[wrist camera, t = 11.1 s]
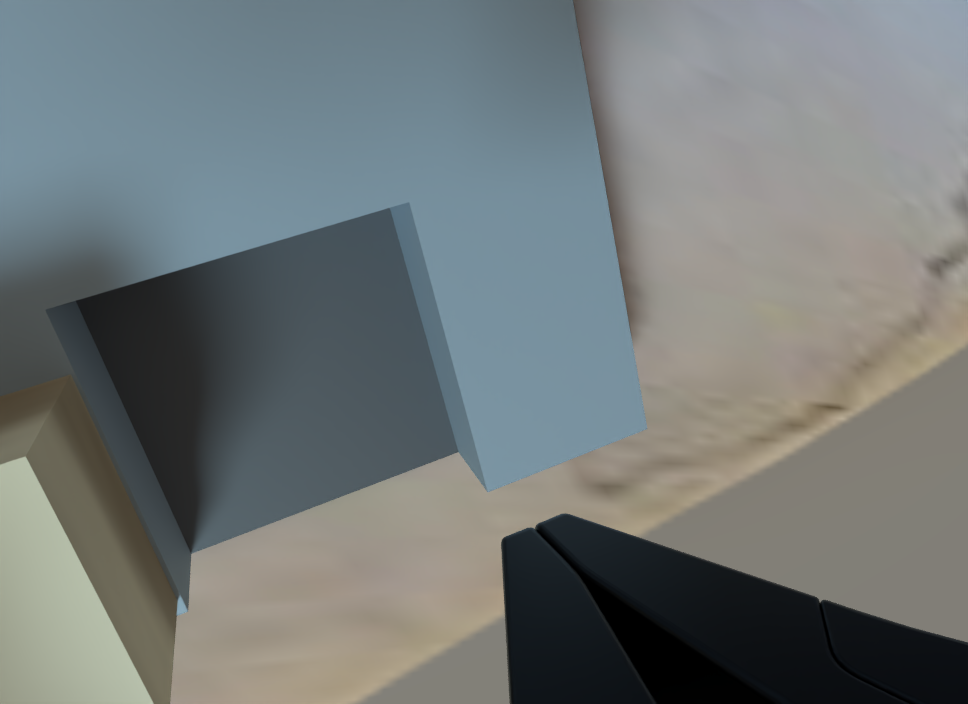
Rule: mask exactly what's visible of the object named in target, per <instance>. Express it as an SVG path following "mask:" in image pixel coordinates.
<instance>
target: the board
mask: <svg viewBox="0 0 968 704" xmlns="http://www.w3.org/2000/svg"><path fill="white" fill-rule="evenodd" d="M67 375H71V376H72V378H73V380H74V382H75V384H76V386H77V388H78V390H79V393H80V395H81V397H82V399H83V401H84V403H85V405H86V407H87V410H88V412H89V414H90V416H91V418H92V420H93V422H94V424H95V427H96V429H97V431H98V433H99V435H100V437H101V439H102V441H103V444H104V446H105V448H106V450H107V452H108V454H109V456H110V458H111V460H112V463H113V465H114V467H115V469H116V471H117V473H118V475H119V477H120V480H121V482H122V484H123V486H124V488H125V490H126V492H127V494H128V497H129V499H130V501H131V503H132V505H133V507H134V509H135V511H136V514H137V516H138V518H139V520H140V522H141V524H142V526H143V528H144V530H145V533H146V535H147V537H148V539H149V541H150V543H151V545H152V547H153V550H154V552H155V554H156V556H157V558H158V560H159V562H160V564H161V567H162V569H163V571H164V573H165V575H166V577H167V579H168V581H169V584H170V586H171V588H172V590H173V592H174V594H175V596H176V598H177V601H178V604H177V616H178V615H180V614H183V613H185V612H188V603H189V584H190V566H191V554H192V553H194V552H197V551H199V550H202V549H205V548H207V547H210V546H213V545H215V544H218V543H220V542H223V541H226V540H228V539H231V538H234V537H236V536H239V535H241V534H244V533H247V532H249V531H252V530H255V529H257V528H260V527H262V526H265V525H268V524H270V523H273V522H276V521H278V520H281V519H283V518H286V517H289V516H291V515H294V514H297V513H299V512H302V511H304V510H307V509H310V508H312V507H315V506H318V505H320V504H323V503H325V502H328V501H331V500H333V499H336V498H339V497H341V496H344V495H347V494H349V493H352V492H354V491H357V490H360V489H362V488H365V487H368V486H370V485H373V484H375V483H378V482H381V481H383V480H386V479H389V478H391V477H394V476H396V475H399V474H402V473H404V472H407V471H410V470H412V469H415V468H417V467H420V466H423V465H425V464H428V463H431V462H433V461H436V460H438V459H441V458H444V457H446V456H449V455H452V454H454V453H457V452H459V453H460V455H461V456H462V457H463V459H464V460H465V461H466V463H467V464H468V466H469V467H470V468H471V470H472V471H473V473H474V474H475V475H476V477H477V478H478V479H479V481H480V482H481V484H482V485H483V486H484V488H485V489H486V490H487V492H490V491H492V490H495V489H497V488H500V487H502V486H505V485H507V484H510V483H512V482H515V481H517V480H520V479H522V478H525V477H527V476H530V475H532V474H535V473H537V472H540V471H542V470H545V469H547V468H550V467H552V466H555V465H558V464H560V463H563V462H565V461H568V460H570V459H573V458H575V457H578V456H580V455H583V454H585V453H588V452H590V451H593V450H595V449H598V448H600V447H603V446H605V445H608V444H610V443H613V442H615V441H618V440H620V439H623V438H625V437H628V436H630V435H633V434H635V433H638V432H641V431H643V430H646V429H647V425H646V419H645V413H644V407H643V402H642V396H641V390H640V384H639V379H638V373H637V367H636V361H635V356H634V350H633V344H632V338H631V333H630V327H629V321H628V315H627V310H626V304H625V298H624V292H623V286H622V281H621V275H620V269H619V263H618V258H617V252H616V246H615V240H614V235H613V229H612V223H611V217H610V212H609V206H608V200H607V194H606V189H605V183H604V177H603V171H602V166H601V160H600V154H599V148H598V142H597V137H596V131H595V125H594V119H593V114H592V108H591V102H590V96H589V91H588V85H587V79H586V73H585V68H584V62H583V56H582V50H581V45H580V39H579V33H578V27H577V22H576V16H575V10H574V4H573V0H0V396H3V395H7V394H10V393H13V392H16V391H19V390H23V389H26V388H29V387H32V386H35V385H39V384H42V383H45V382H48V381H51V380H55V379H58V378H61V377H64V376H67Z"/></svg>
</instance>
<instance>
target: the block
mask: <svg viewBox="0 0 968 704" xmlns="http://www.w3.org/2000/svg"><path fill="white" fill-rule="evenodd" d="M177 604H178V601H177V598H176V596H175V594H174V592H173V590H172V588H171V586H170V584H169V581H168V579H167V577H166V575H165V573H164V571H163V569H162V567H161V564H160V562H159V560H158V558H157V556H156V554H155V552H154V550H153V547H152V545H151V543H150V541H149V539H148V537H147V535H146V533H145V530H144V528H143V526H142V524H141V522H140V520H139V518H138V516H137V514H136V511H135V509H134V507H133V505H132V503H131V501H130V499H129V497H128V494H127V492H126V490H125V488H124V486H123V484H122V482H121V480H120V477H119V475H118V473H117V471H116V469H115V467H114V465H113V463H112V460H111V458H110V456H109V454H108V452H107V450H106V448H105V446H104V444H103V441H102V439H101V437H100V435H99V433H98V431H97V429H96V427H95V424H94V422H93V420H92V418H91V416H90V414H89V412H88V410H87V407H86V405H85V403H84V401H83V399H82V397H81V395H80V393H79V390H78V388H77V386H76V384H75V382H74V380H73V378H72V376H71V375H67V376H64V377H61V378H58V379H55V380H51V381H48V382H45V383H42V384H39V385H35V386H32V387H29V388H26V389H23V390H19V391H16V392H13V393H10V394H7V395H3V396H0V704H170V697H171V684H172V670H173V657H174V644H175V631H176V617H177Z"/></svg>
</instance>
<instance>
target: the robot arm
mask: <svg viewBox="0 0 968 704" xmlns="http://www.w3.org/2000/svg"><path fill="white" fill-rule="evenodd" d="M501 549H502V568H503V587H504V605H505V624H506V643H507V660H508V661H507V662H508V681H509V696H510V697H509V699H510V704H968V643H967V642H964V641H960V640H956V639H953V638H949V637H945V636H941V635H938V634H934V633H930V632H926V631H923V630H919V629H915V628H912V627H909V626H906V625H902V624H899V623H895V622H893V621H889V620H886V619H883V618H880V617H876V616H873V615H870V614H867V613H864V612H861V611H857V610H854V609H851V608H848V607H845V606H842V605H839V604H837V603H833V602H831V601H828V600H822V601H821V603H820V602H819V599H818V598H817V597H815V596H812V595H809V594H806V593H803V592H800V591H797V590H794V589H791V588H788V587H785V586H782V585H779V584H776V583H773V582H770V581H767V580H764V579H761V578H758V577H755V576H752V575H749V574H746V573H743V572H740V571H737V570H734V569H731V568H728V567H725V566H722V565H719V564H716V563H713V562H710V561H707V560H704V559H701V558H698V557H695V556H692V555H689V554H686V553H684V552H680V551H678V550H674V549H672V548H668V547H665V546H663V545H660V544H657V543H654V542H651V541H648V540H645V539H642V538H639V537H636V536H633V535H630V534H627V533H624V532H621V531H618V530H615V529H612V528H609V527H606V526H603V525H600V524H597V523H594V522H591V521H588V520H585V519H582V518H579V517H576V516H573V515H570V514H560V515H558V516H556V517H553V518H551V519H548V520H546V521H543V522H541V523H539V524H537V525H536V527H535V529H534V528H526V529H524V530H521V531H519V532H516V533H514V534H511V535H509V536H506V537H504V538H503V539H502V542H501Z"/></svg>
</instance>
